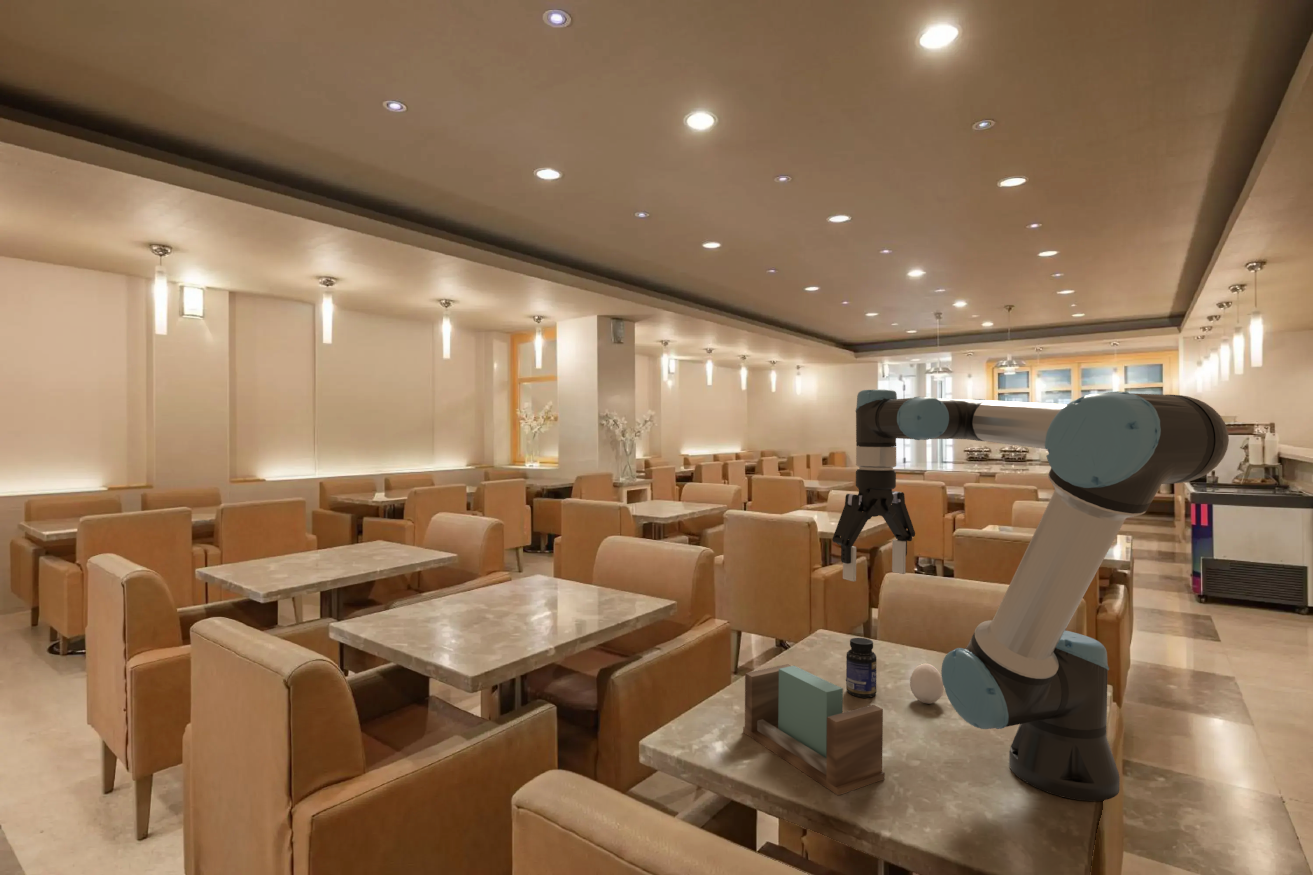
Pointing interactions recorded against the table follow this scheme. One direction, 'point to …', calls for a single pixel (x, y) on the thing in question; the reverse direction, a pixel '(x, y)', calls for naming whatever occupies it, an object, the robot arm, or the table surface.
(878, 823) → the table surface
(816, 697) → the green rectangular box
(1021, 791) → the table surface
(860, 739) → the wooden desk organizer
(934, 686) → the egg
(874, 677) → the pill bottle
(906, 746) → the table surface
